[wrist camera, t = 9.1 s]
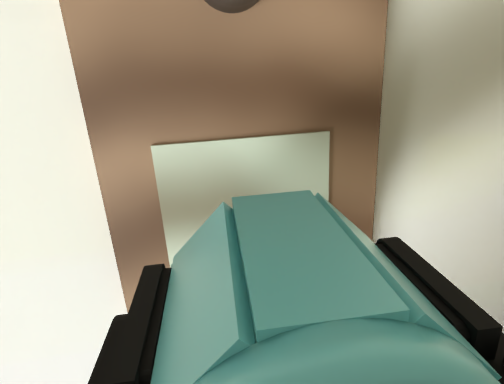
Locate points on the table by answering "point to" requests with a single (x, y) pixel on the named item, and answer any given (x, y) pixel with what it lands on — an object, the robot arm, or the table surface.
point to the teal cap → (300, 305)
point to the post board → (224, 110)
